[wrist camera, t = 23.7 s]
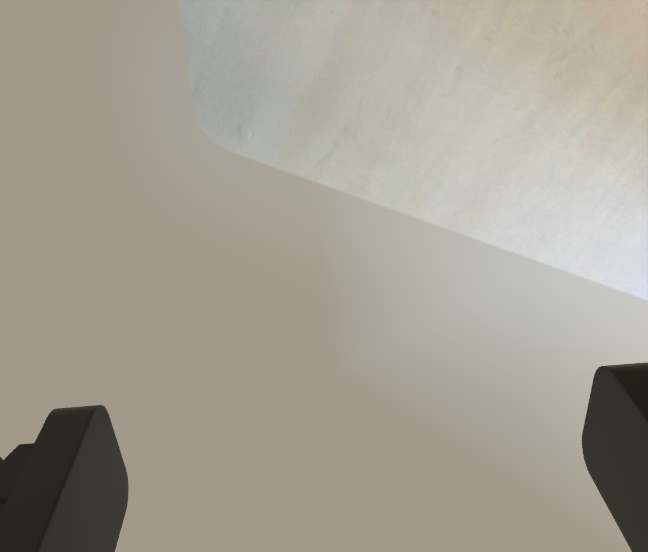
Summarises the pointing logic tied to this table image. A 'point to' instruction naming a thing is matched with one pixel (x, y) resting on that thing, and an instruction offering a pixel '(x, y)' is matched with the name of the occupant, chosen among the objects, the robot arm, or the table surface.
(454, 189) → the table surface
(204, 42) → the table surface
